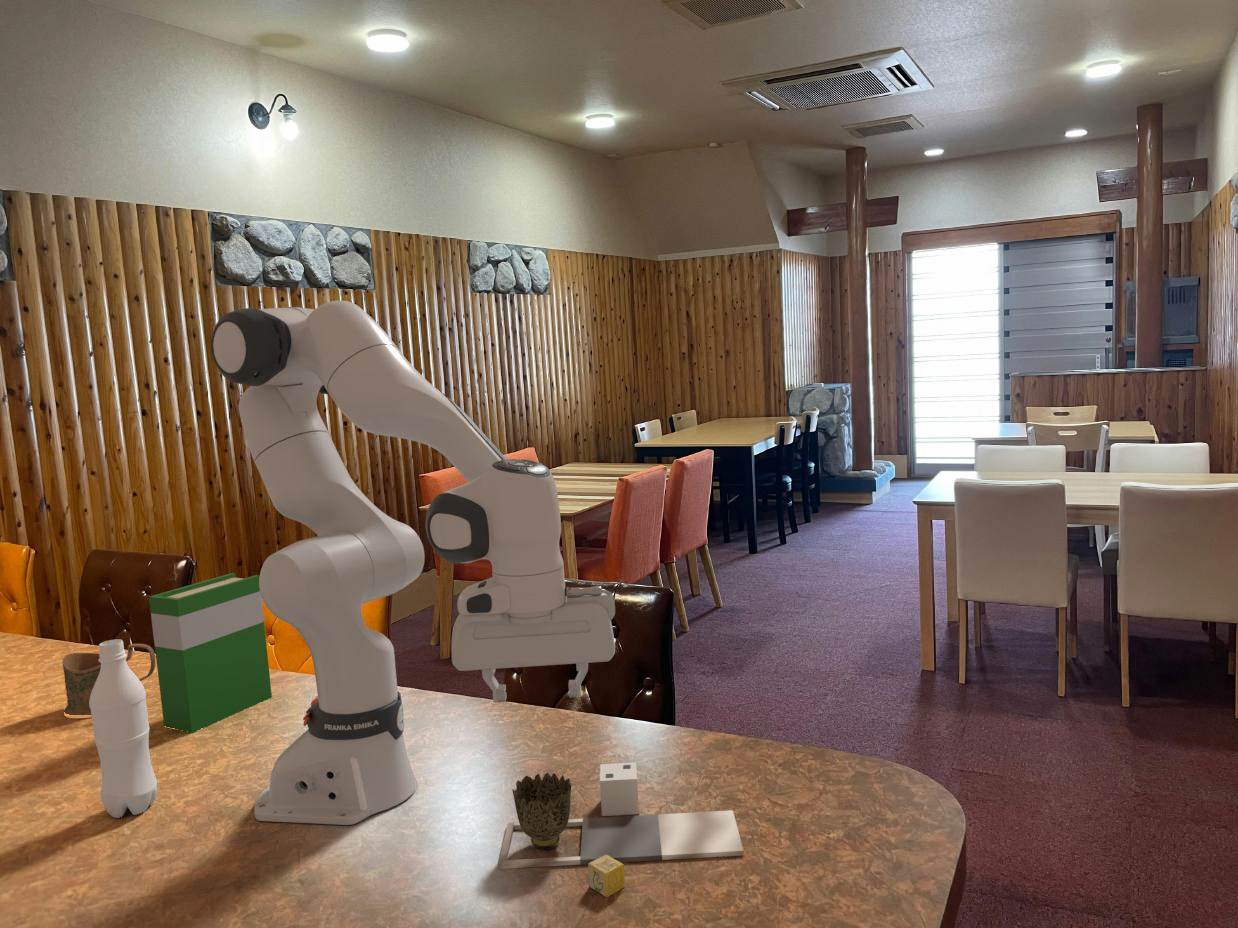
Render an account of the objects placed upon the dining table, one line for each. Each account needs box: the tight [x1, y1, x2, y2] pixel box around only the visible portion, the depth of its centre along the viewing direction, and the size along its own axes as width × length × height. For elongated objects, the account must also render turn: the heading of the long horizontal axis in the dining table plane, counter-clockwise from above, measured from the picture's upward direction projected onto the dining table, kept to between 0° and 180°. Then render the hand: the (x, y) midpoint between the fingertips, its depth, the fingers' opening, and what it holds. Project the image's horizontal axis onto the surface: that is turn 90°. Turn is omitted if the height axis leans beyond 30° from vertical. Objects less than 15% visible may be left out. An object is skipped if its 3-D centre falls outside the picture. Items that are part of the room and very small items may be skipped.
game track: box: [498, 809, 745, 870], centre depth 116 cm, size 30×10×1 cm, turn 90°
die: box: [599, 761, 640, 817], centre depth 125 cm, size 5×5×5 cm
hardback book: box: [148, 572, 273, 734], centre depth 168 cm, size 18×7×24 cm, turn 153°
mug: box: [61, 643, 156, 715], centre depth 174 cm, size 12×18×12 cm, turn 89°
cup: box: [511, 772, 572, 851], centre depth 116 cm, size 8×7×8 cm
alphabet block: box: [587, 855, 625, 898], centre depth 106 cm, size 3×3×3 cm
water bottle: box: [89, 638, 158, 819], centre depth 131 cm, size 7×7×25 cm
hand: (537, 698), depth 114 cm, fingers open, 8 cm apart
